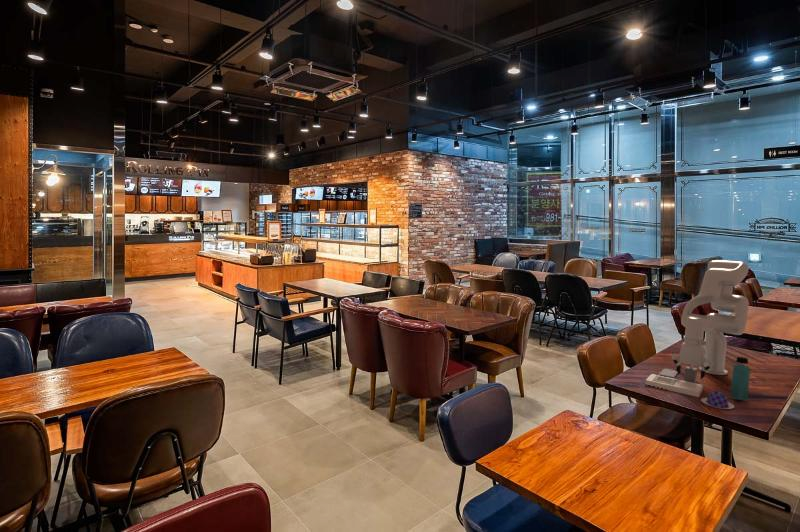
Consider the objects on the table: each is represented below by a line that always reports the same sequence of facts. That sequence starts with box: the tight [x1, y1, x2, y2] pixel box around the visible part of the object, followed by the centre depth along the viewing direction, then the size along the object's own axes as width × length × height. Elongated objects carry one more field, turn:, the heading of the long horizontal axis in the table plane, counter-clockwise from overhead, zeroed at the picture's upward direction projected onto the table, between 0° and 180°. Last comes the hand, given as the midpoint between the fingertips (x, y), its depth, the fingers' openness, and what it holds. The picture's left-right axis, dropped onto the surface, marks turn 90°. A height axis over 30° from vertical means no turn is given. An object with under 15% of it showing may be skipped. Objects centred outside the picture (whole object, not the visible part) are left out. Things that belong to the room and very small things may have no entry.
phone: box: [657, 368, 679, 379], centre depth 235 cm, size 13×7×1 cm, turn 138°
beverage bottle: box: [730, 356, 751, 401], centre depth 200 cm, size 6×7×20 cm
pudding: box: [700, 391, 735, 410], centre depth 197 cm, size 12×12×5 cm
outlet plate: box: [645, 373, 704, 398], centre depth 216 cm, size 12×22×3 cm, turn 49°
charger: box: [683, 365, 698, 383], centre depth 221 cm, size 4×4×9 cm
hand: (690, 375), depth 220 cm, fingers open, 9 cm apart
